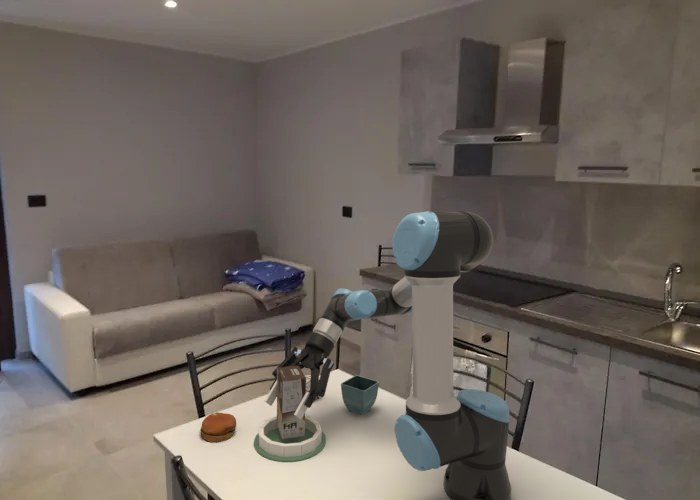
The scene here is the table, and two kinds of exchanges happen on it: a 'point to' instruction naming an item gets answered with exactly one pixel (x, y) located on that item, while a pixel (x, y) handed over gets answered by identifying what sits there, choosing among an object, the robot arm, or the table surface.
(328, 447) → the table surface
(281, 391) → the coffee box
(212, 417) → the burger
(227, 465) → the table surface
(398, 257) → the robot arm
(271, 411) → the table surface
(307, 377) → the game die
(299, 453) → the round green tray
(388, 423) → the table surface
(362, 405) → the flower pot
